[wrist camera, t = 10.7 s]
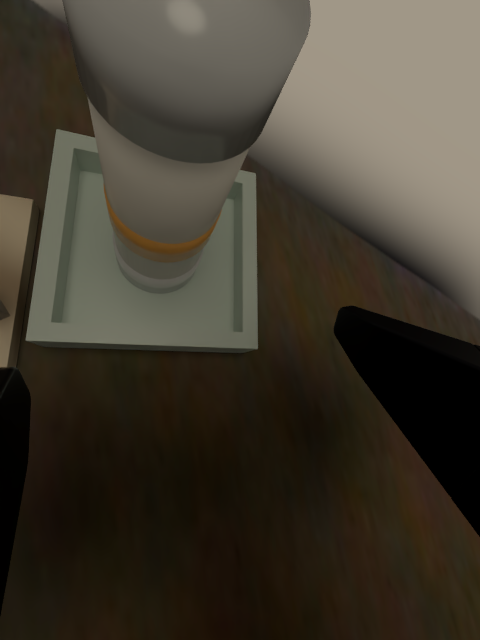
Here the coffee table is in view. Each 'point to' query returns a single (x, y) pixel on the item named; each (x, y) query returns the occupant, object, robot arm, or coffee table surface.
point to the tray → (117, 292)
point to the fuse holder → (14, 270)
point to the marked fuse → (177, 114)
